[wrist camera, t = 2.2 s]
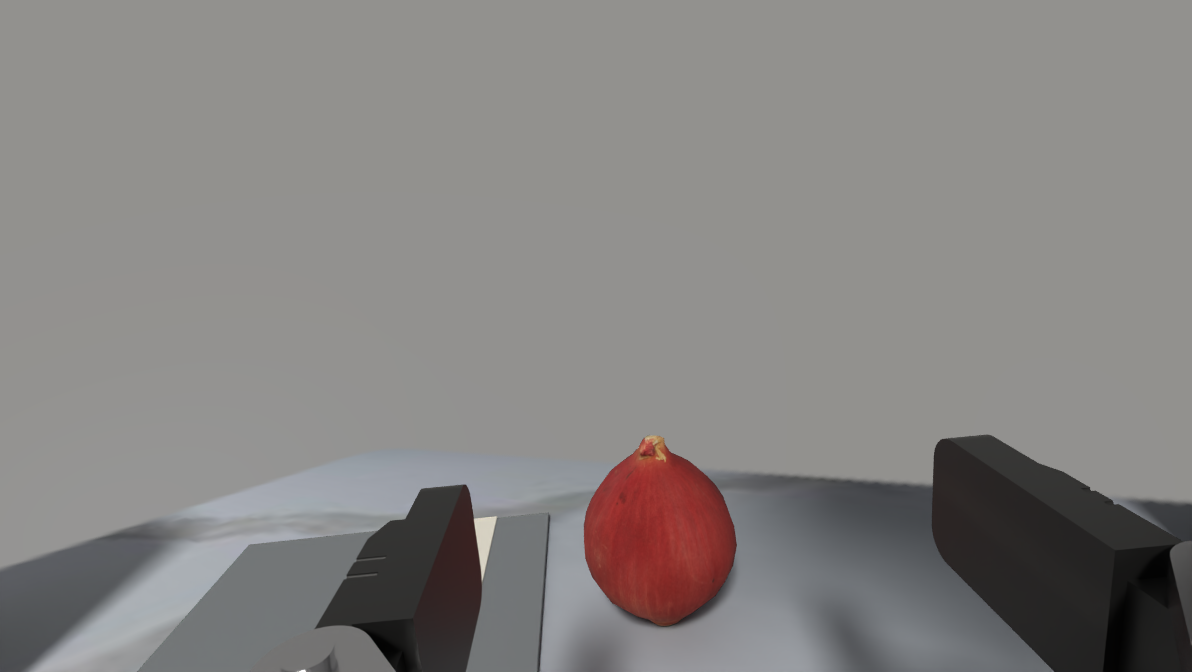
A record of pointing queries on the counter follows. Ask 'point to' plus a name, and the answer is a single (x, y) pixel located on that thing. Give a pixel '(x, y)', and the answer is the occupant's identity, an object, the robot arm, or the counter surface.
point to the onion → (658, 535)
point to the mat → (312, 577)
